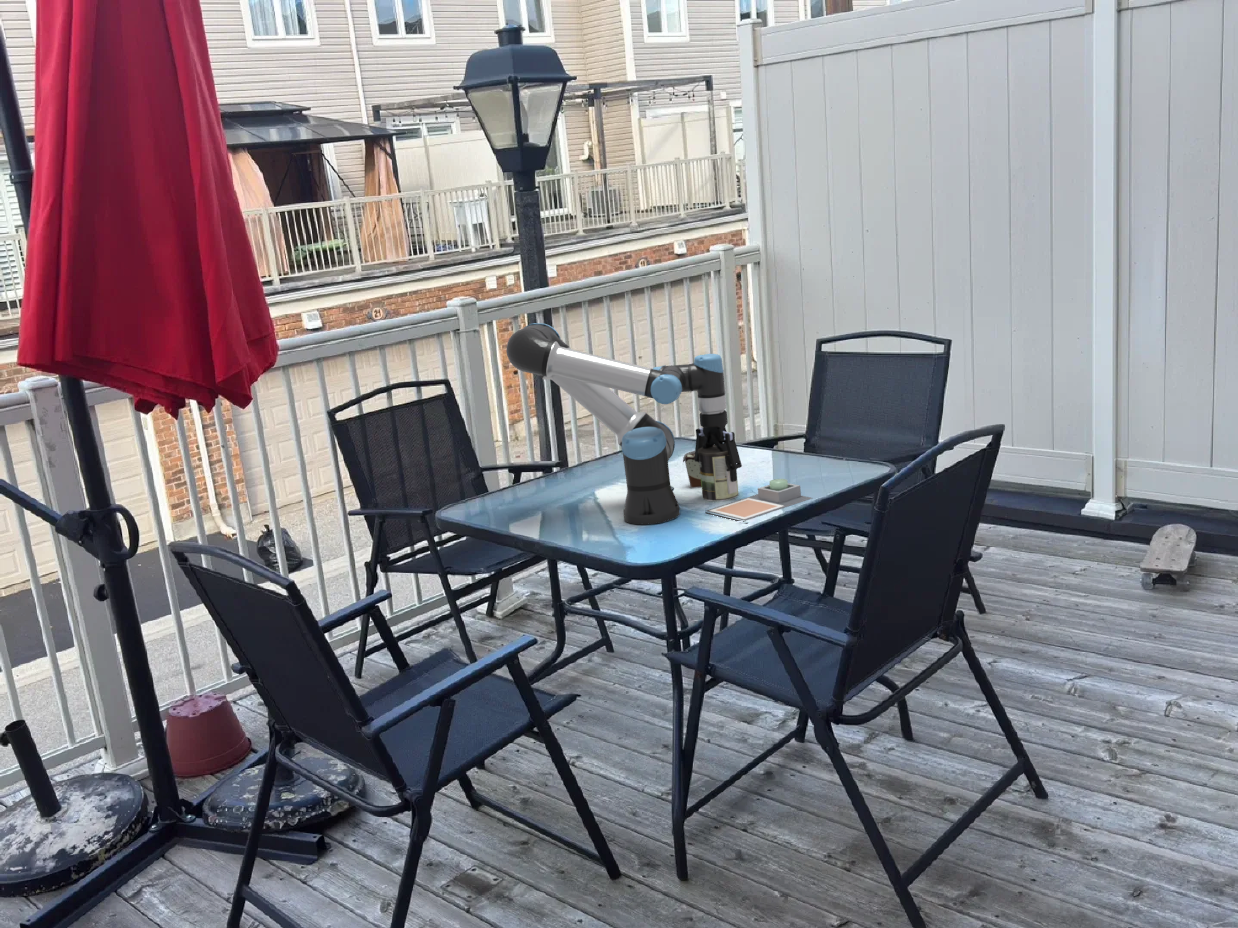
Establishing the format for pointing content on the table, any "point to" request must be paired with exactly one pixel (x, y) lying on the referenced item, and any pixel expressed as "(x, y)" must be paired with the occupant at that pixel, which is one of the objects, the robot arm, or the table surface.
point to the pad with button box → (760, 503)
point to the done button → (778, 484)
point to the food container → (692, 470)
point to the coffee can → (714, 475)
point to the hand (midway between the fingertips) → (720, 489)
